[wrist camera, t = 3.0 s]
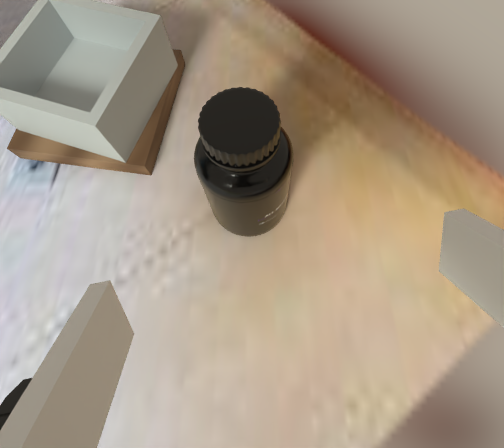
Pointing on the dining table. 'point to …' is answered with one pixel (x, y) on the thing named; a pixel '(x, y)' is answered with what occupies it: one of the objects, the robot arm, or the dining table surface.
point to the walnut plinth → (137, 162)
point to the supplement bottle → (244, 160)
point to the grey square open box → (85, 74)
